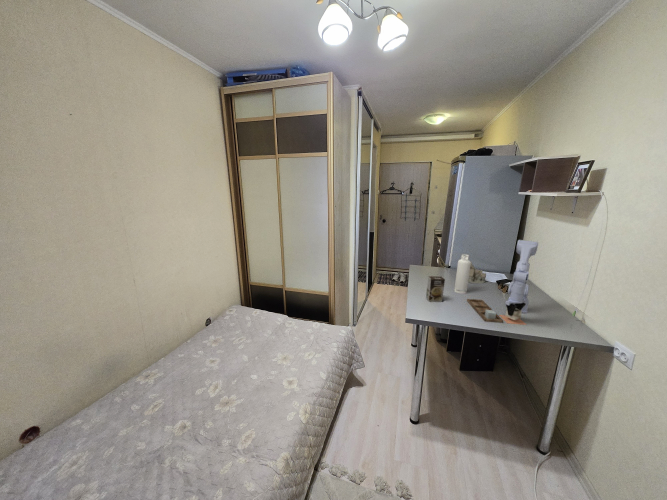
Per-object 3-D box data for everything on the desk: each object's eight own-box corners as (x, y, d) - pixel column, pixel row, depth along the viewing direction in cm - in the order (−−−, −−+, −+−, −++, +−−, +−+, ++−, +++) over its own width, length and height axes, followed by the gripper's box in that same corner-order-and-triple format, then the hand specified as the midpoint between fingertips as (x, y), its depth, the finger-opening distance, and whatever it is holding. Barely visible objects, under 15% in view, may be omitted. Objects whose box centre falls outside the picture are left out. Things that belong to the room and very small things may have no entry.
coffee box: (428, 301, 166) (431, 279, 162) (425, 297, 173) (427, 275, 169) (442, 302, 166) (445, 279, 162) (438, 298, 172) (441, 276, 168)
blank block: (491, 316, 146) (492, 310, 145) (495, 319, 142) (496, 313, 142) (484, 315, 147) (485, 309, 146) (487, 319, 143) (488, 313, 142)
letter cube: (511, 314, 146) (512, 306, 144) (520, 318, 141) (521, 310, 140) (505, 316, 144) (507, 308, 143) (514, 320, 139) (515, 311, 138)
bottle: (463, 289, 187) (468, 253, 180) (468, 294, 179) (473, 256, 173) (452, 289, 188) (457, 253, 181) (456, 293, 180) (461, 256, 173)
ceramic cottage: (459, 280, 206) (463, 263, 203) (467, 276, 217) (471, 260, 213) (479, 286, 195) (483, 268, 191) (486, 282, 205) (491, 265, 201)
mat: (516, 316, 147) (516, 316, 147) (526, 325, 138) (527, 324, 137) (498, 315, 148) (498, 314, 148) (507, 324, 139) (507, 323, 139)
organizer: (481, 302, 166) (482, 299, 165) (502, 323, 140) (503, 320, 139) (466, 301, 167) (466, 298, 167) (484, 322, 141) (485, 319, 140)
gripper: (518, 288, 145) (514, 309, 148) (501, 291, 140) (497, 313, 143) (532, 292, 139) (527, 314, 142) (514, 296, 134) (510, 319, 137)
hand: (513, 314), depth 142 cm, fingers closed on letter cube, 5 cm apart
